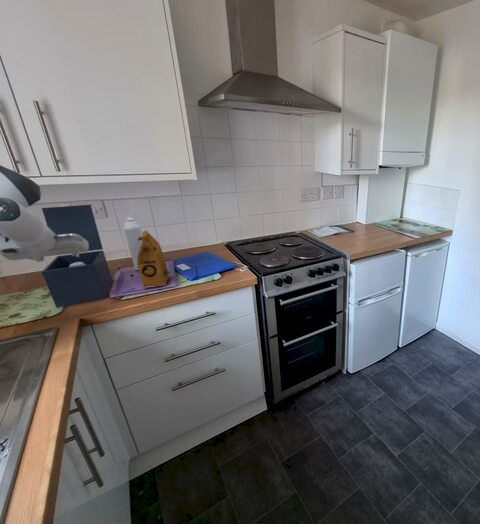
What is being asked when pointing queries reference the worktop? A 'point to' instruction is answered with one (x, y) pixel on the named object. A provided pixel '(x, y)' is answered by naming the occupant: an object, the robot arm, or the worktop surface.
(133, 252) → the water bottle
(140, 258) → the coffee package
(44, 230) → the robot arm
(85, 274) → the storage box
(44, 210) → the box lid
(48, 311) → the worktop surface
